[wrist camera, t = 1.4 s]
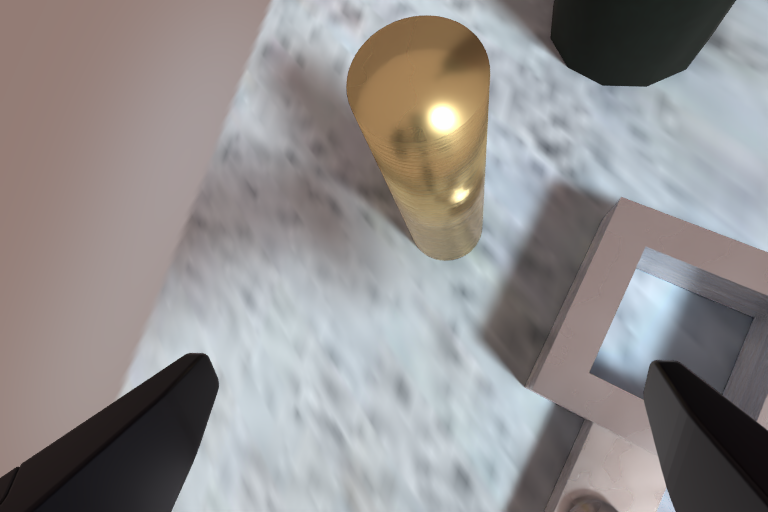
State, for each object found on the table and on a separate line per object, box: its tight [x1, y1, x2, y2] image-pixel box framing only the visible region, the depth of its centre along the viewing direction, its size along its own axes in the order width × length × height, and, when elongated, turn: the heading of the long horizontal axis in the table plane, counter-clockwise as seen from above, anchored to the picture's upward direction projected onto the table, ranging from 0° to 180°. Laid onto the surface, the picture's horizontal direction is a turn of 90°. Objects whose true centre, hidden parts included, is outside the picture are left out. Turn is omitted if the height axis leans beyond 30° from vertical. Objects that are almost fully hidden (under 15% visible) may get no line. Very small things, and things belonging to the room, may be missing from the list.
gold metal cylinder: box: [346, 16, 490, 261], centre depth 17 cm, size 4×4×12 cm
